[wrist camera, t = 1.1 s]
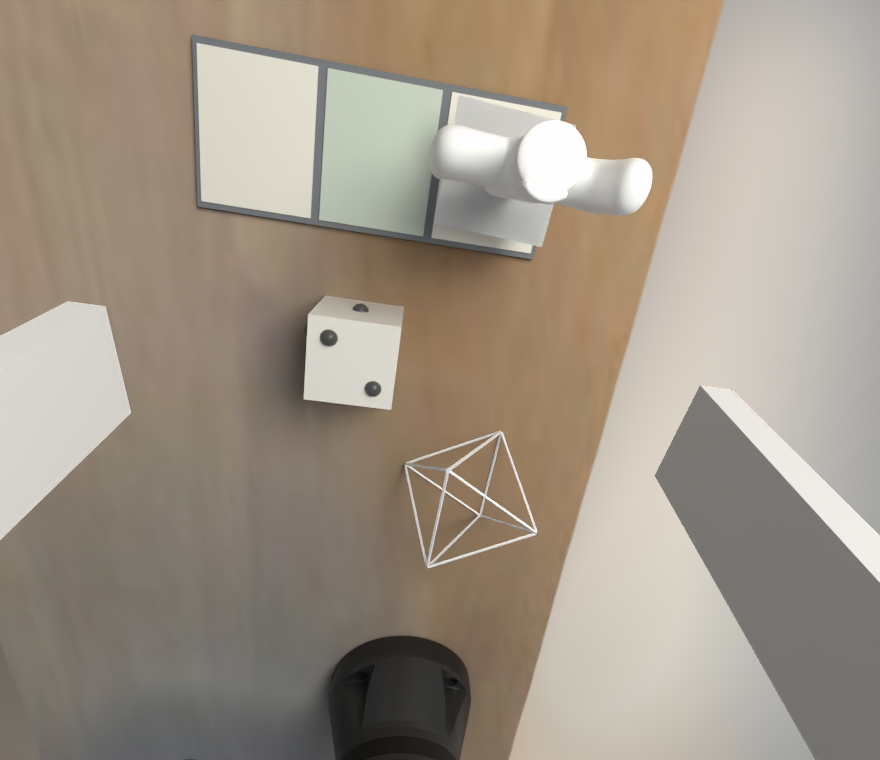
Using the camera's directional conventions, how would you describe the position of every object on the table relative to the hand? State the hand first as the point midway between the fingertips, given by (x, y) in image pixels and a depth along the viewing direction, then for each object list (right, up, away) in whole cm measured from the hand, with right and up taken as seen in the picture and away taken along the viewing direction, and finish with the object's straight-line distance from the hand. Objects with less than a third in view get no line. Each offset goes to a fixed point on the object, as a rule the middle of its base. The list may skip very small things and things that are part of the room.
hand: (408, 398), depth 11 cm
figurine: (+4, +15, +22) cm, 26 cm away
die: (-5, +4, +26) cm, 27 cm away
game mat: (-3, +16, +21) cm, 26 cm away
